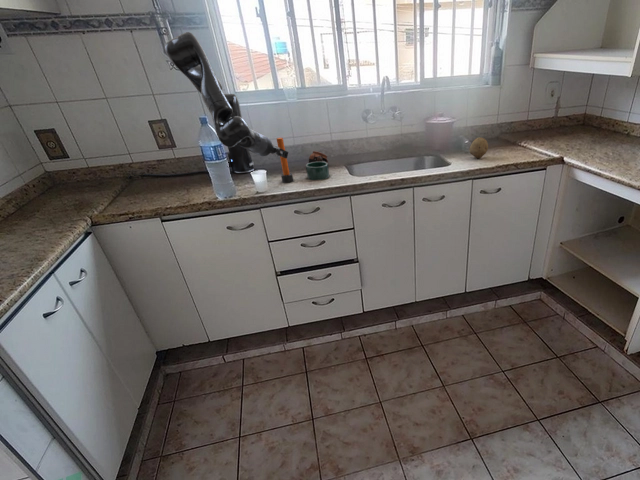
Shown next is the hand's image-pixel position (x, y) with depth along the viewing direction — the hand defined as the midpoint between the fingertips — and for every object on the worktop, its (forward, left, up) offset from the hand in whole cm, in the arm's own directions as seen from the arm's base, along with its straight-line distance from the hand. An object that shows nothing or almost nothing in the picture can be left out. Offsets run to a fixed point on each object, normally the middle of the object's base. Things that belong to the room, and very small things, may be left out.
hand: (276, 152), depth 160 cm
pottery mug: (+8, +27, -13) cm, 31 cm away
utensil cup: (+13, +11, -13) cm, 21 cm away
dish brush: (+1, +4, -13) cm, 14 cm away
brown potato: (+86, +44, -13) cm, 97 cm away
